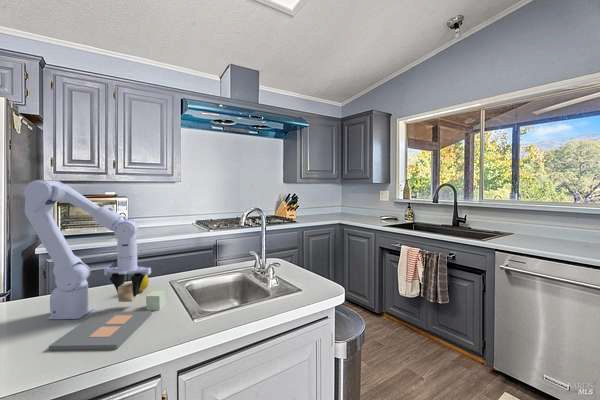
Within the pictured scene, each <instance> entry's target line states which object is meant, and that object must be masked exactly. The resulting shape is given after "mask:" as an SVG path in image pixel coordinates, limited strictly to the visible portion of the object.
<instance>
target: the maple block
mask: <svg viewBox="0 0 600 400" xmlns="http://www.w3.org/2000/svg"><path fill="white" fill-rule="evenodd" d="M139 296H140V295H139V294H138V295H136V296H134V295H133V284H132V282H124V284H122V285H121V286H119V287H118V293H117V300H118V303H132V302H133V301H136V299H137V298H139Z"/></svg>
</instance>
